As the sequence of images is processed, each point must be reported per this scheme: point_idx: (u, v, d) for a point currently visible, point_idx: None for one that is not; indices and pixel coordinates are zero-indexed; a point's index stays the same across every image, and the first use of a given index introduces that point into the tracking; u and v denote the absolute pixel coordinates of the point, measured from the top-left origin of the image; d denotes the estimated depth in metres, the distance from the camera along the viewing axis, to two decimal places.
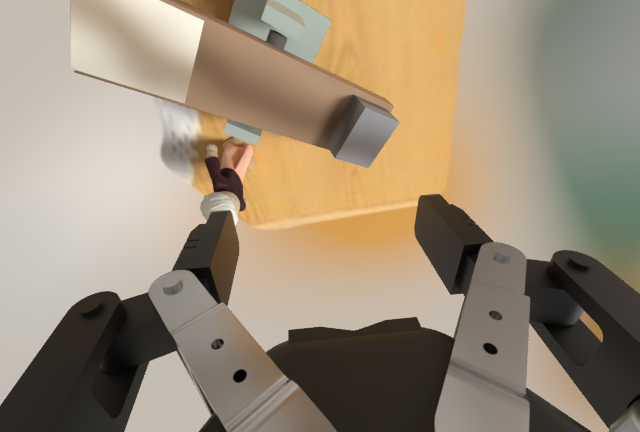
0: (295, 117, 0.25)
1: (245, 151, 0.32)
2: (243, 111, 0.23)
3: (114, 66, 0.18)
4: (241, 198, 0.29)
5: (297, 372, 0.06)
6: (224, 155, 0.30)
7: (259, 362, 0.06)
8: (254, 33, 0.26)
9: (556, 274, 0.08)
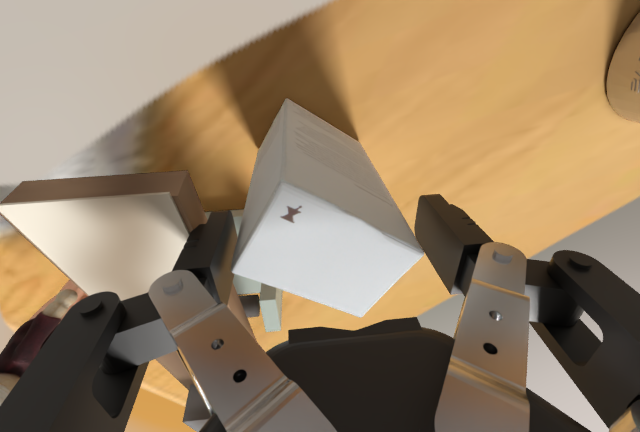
0: None
1: None
2: None
3: (65, 246, 0.11)
4: None
5: (297, 372, 0.06)
6: (74, 291, 0.21)
7: (259, 361, 0.06)
8: None
9: (556, 274, 0.08)
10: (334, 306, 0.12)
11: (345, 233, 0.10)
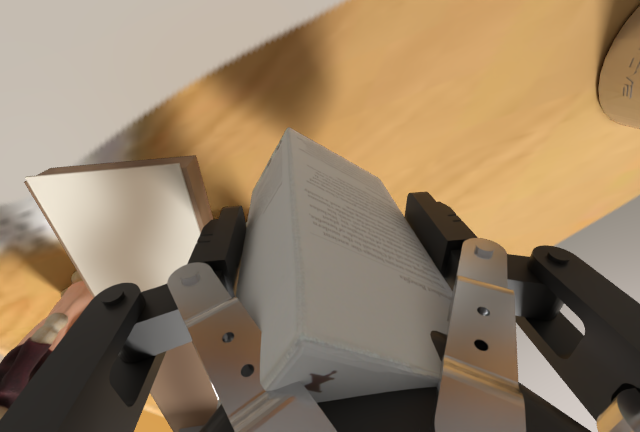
0: (184, 393, 0.19)
1: None
2: None
3: (79, 223, 0.12)
4: None
5: None
6: (65, 313, 0.20)
7: None
8: None
9: (537, 270, 0.08)
10: None
11: None
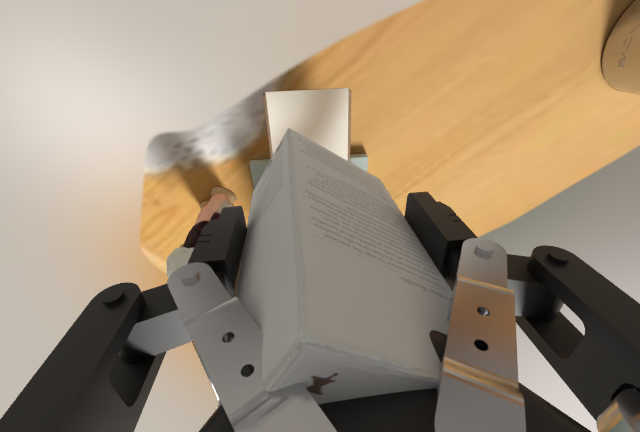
0: None
1: None
2: None
3: (283, 124, 0.21)
4: None
5: None
6: None
7: None
8: None
9: (537, 270, 0.08)
10: None
11: None
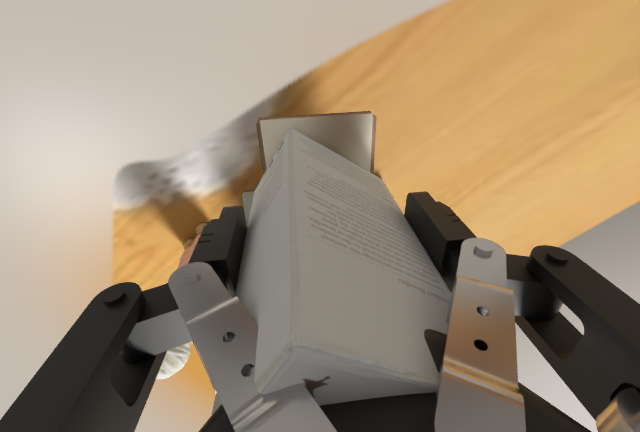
0: None
1: None
2: None
3: None
4: None
5: None
6: None
7: None
8: None
9: (536, 270, 0.08)
10: None
11: None
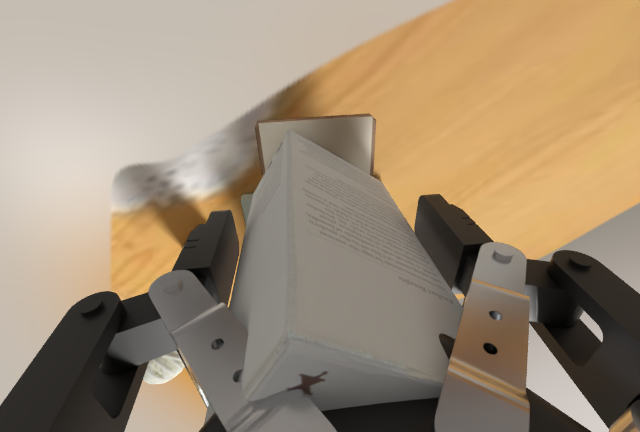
0: None
1: None
2: None
3: None
4: None
5: None
6: None
7: None
8: None
9: (556, 274, 0.08)
10: None
11: None
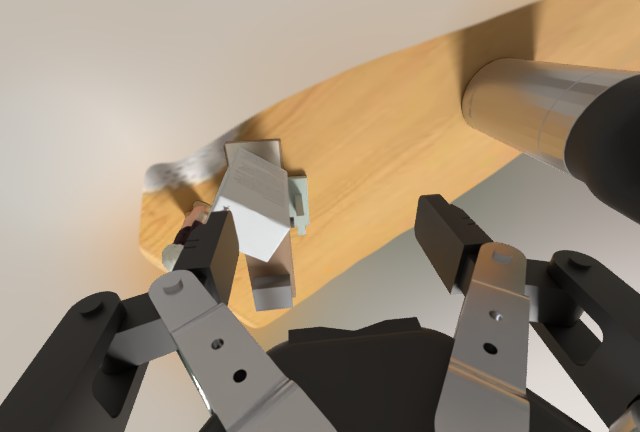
0: None
1: None
2: None
3: None
4: None
5: (297, 372, 0.06)
6: (199, 217, 0.40)
7: (259, 361, 0.06)
8: None
9: (556, 274, 0.08)
10: (252, 255, 0.24)
11: (250, 218, 0.23)
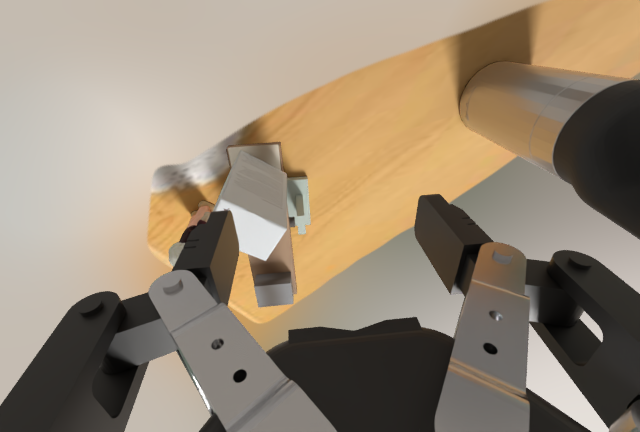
0: None
1: None
2: None
3: None
4: None
5: (297, 372, 0.06)
6: None
7: (259, 361, 0.06)
8: None
9: (556, 274, 0.08)
10: (251, 254, 0.26)
11: (249, 219, 0.24)
